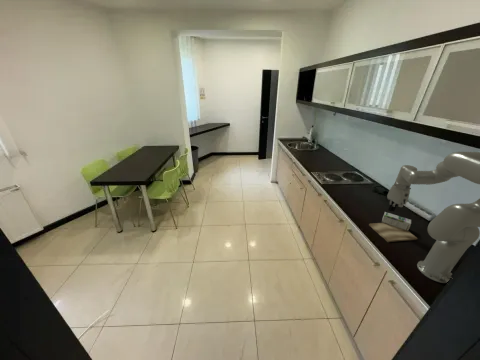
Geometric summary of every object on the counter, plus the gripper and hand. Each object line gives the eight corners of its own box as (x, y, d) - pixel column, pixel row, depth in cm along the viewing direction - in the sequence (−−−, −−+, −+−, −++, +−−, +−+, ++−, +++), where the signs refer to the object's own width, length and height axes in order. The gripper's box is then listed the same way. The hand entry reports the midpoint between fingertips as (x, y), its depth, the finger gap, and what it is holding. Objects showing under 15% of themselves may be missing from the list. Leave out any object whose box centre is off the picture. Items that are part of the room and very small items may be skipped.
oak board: (416, 239, 121) (417, 238, 120) (387, 242, 119) (388, 240, 118) (395, 223, 135) (395, 221, 135) (368, 225, 133) (369, 223, 132)
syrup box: (385, 211, 136) (411, 219, 128) (382, 218, 138) (408, 226, 130) (384, 215, 132) (411, 223, 124) (381, 222, 134) (408, 231, 126)
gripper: (418, 191, 113) (406, 217, 121) (397, 179, 126) (387, 204, 134) (407, 191, 112) (395, 218, 120) (386, 180, 125) (377, 204, 133)
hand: (391, 210), depth 127 cm, fingers closed
